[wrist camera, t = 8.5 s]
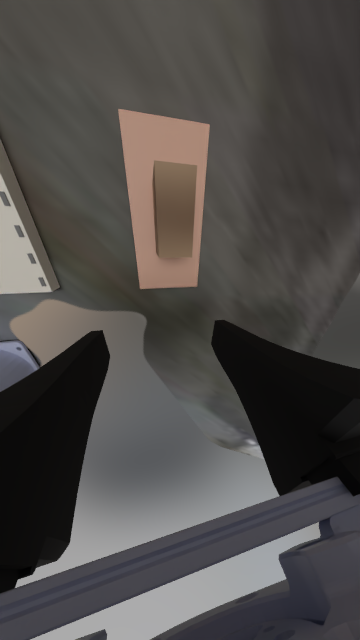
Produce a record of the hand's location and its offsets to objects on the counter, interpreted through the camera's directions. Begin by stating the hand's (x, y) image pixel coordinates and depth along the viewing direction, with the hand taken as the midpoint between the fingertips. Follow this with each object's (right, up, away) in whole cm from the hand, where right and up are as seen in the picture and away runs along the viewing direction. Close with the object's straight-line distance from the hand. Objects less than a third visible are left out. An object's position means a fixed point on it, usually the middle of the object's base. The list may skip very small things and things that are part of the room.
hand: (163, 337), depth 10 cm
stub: (0, +11, +5) cm, 12 cm away
